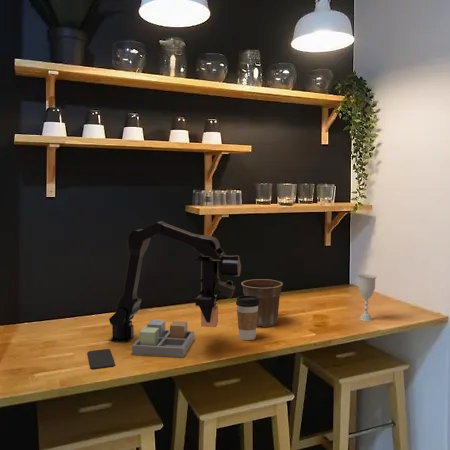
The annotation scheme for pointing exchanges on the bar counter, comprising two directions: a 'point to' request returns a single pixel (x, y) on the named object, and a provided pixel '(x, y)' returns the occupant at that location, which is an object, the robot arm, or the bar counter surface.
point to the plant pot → (265, 299)
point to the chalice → (366, 292)
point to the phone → (100, 359)
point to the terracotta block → (213, 318)
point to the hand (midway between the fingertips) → (209, 320)
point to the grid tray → (163, 340)
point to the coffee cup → (247, 316)
